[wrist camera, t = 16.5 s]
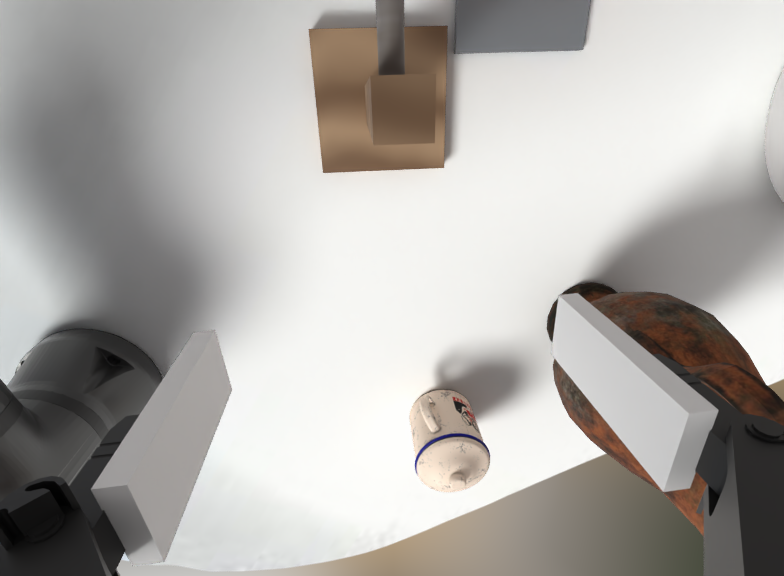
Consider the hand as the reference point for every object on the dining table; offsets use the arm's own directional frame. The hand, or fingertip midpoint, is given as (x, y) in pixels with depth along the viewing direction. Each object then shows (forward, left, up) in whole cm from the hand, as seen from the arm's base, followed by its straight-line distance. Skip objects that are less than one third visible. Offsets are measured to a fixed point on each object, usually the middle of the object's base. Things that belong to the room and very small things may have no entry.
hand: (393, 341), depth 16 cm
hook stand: (+1, +10, -29) cm, 31 cm away
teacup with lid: (+7, -30, -30) cm, 43 cm away
